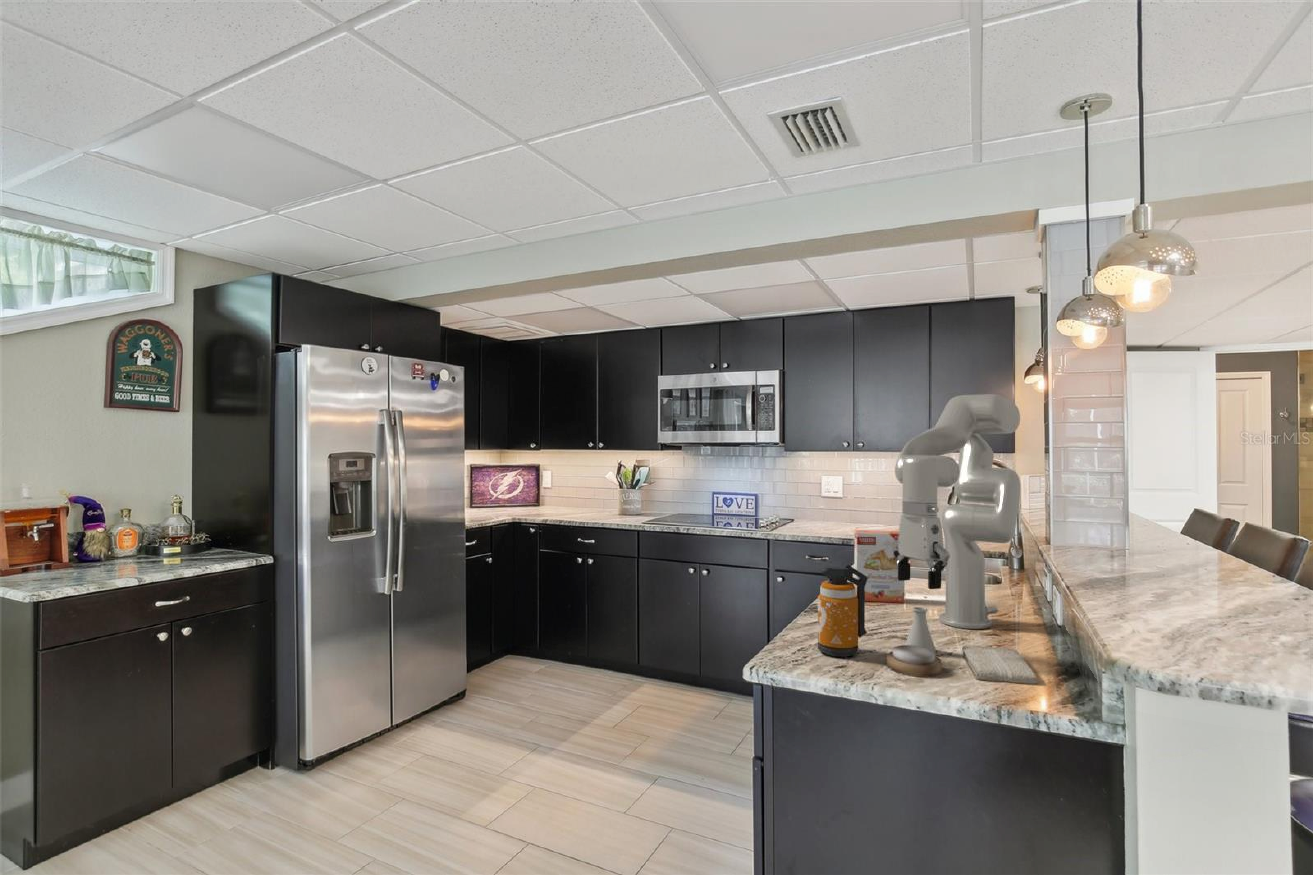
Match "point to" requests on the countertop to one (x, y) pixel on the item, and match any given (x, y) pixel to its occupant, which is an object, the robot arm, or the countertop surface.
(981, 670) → the washcloth
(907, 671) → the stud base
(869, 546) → the cracker box
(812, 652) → the countertop surface
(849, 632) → the canister
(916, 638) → the flask
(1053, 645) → the countertop surface
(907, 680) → the countertop surface
